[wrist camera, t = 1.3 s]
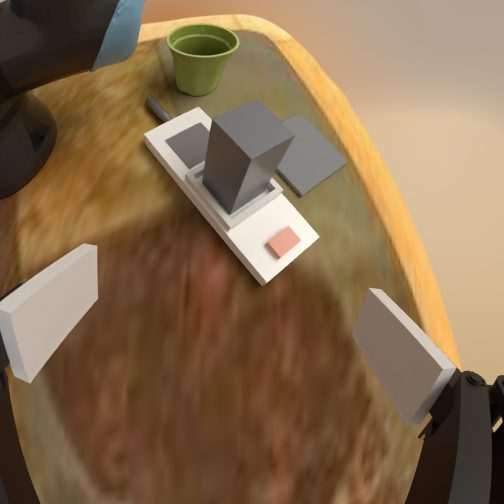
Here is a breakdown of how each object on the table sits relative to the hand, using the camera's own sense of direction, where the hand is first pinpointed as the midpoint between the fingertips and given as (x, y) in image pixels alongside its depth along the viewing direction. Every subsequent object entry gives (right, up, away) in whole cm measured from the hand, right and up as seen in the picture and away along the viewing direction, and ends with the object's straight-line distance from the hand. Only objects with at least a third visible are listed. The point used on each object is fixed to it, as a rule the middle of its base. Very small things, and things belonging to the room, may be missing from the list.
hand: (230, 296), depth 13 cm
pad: (+7, +15, +24) cm, 29 cm away
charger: (-1, +9, +18) cm, 20 cm away
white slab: (-4, +11, +20) cm, 23 cm away
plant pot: (-7, +27, +24) cm, 37 cm away
